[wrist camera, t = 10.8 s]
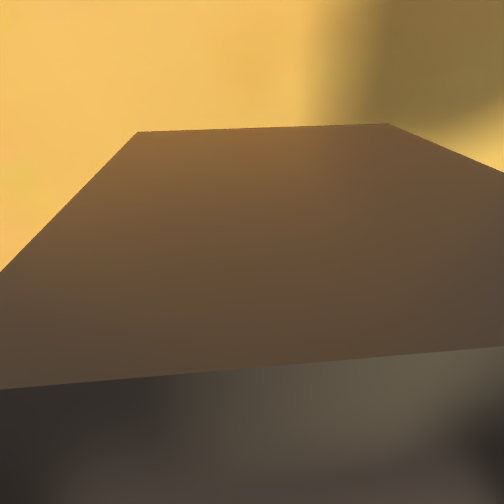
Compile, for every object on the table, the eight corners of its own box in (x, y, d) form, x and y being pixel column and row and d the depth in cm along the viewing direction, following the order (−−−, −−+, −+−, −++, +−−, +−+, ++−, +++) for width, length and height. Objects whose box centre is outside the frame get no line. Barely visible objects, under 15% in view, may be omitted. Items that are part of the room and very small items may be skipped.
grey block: (387, 123, 10) (844, 317, 3) (351, 309, 14) (499, 592, 7) (137, 131, 10) (-126, 400, 2) (173, 323, 14) (123, 645, 6)
